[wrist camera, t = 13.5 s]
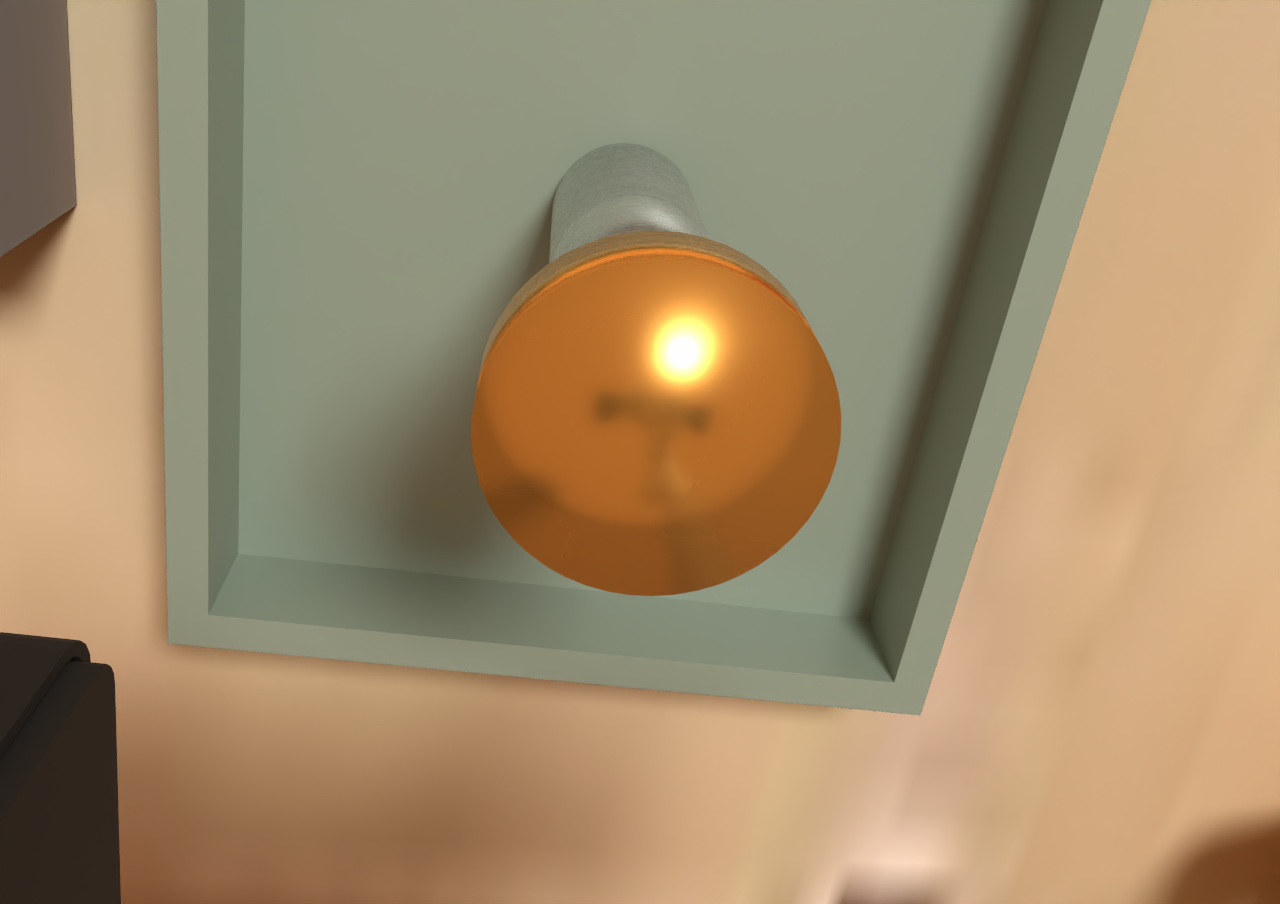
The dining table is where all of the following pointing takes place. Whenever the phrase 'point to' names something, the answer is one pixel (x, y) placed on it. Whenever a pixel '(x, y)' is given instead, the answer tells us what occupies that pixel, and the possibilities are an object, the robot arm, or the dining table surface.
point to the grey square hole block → (34, 119)
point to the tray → (520, 247)
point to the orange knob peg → (650, 393)
